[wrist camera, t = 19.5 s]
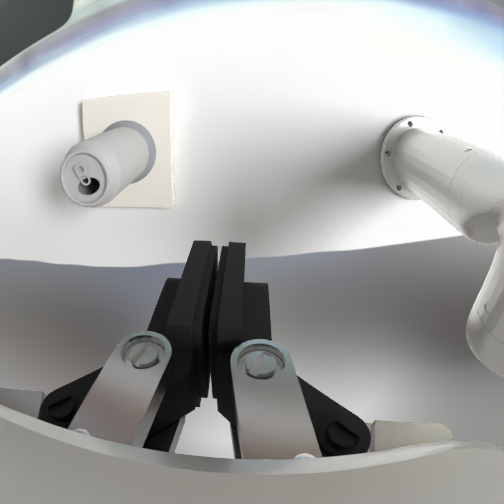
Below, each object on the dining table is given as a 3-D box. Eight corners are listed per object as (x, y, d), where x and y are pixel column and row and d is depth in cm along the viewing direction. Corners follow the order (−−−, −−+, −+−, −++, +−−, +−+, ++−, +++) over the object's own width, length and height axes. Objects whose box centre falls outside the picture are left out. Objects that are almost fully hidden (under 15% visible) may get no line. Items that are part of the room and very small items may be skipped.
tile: (173, 91, 35) (170, 91, 34) (174, 204, 43) (172, 208, 42) (87, 99, 35) (81, 100, 33) (95, 203, 43) (90, 207, 41)
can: (110, 184, 40) (69, 220, 29) (95, 135, 36) (45, 157, 26) (157, 171, 39) (124, 204, 28) (142, 118, 35) (101, 133, 25)
